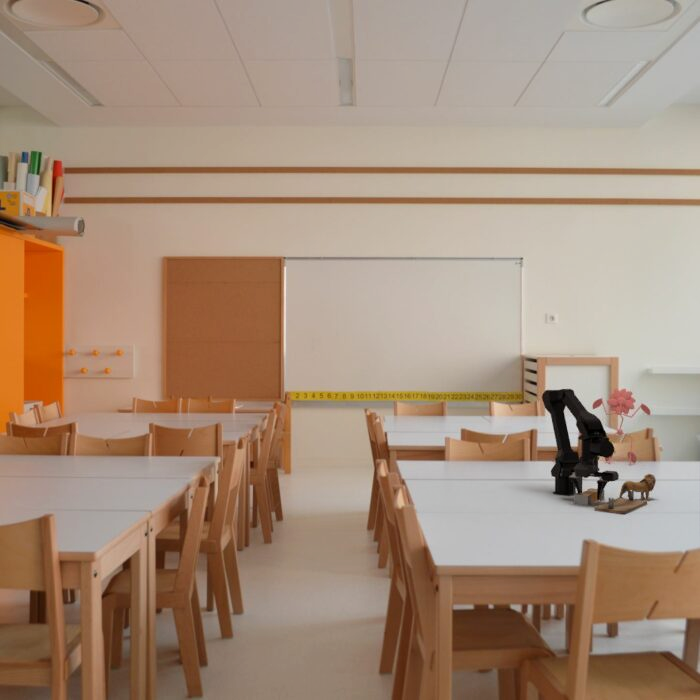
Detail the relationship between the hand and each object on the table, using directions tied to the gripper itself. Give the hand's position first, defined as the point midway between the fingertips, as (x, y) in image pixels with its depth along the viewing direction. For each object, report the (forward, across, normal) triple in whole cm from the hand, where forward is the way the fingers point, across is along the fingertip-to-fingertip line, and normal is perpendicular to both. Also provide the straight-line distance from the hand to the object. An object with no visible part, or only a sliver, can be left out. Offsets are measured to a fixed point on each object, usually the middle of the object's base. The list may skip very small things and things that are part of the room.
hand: (589, 498), depth 275 cm
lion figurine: (+2, +12, +16) cm, 19 cm away
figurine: (+2, -25, +100) cm, 103 cm away
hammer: (+1, 0, 0) cm, 1 cm away
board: (+1, +12, -2) cm, 12 cm away
